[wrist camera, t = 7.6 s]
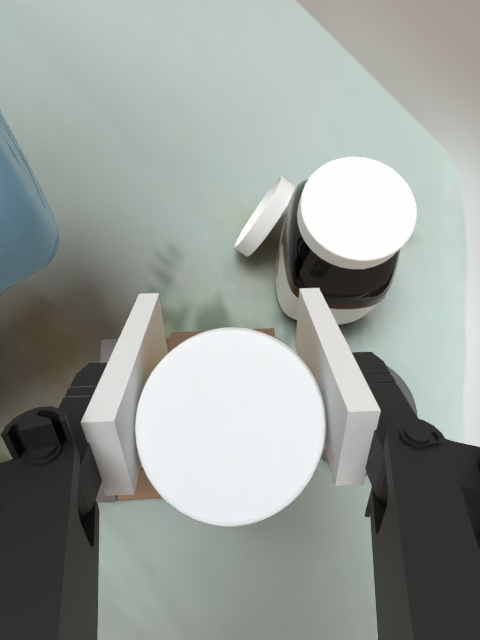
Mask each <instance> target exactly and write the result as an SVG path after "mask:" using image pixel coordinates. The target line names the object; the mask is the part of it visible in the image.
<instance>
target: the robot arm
mask: <svg viewBox="0 0 480 640" xmlns="http://www.w3.org/2000/svg"><path fill="white" fill-rule="evenodd" d="M58 243H59V235H58V229H57V225H56V222H55V219H54V217H53V214H52V212H51V209H50V207H49V205H48V202H47V200H46V198H45V196H44V194H43V192H42V190H41V188H40V186H39V184H38V182H37V179H36V177H35V175H34V173H33V171H32V169H31V167H30V165H29V163H28V162H27V160H26V158H25V156H24V154H23V152H22V150H21V148H20V146H19V144H18V142H17V140H16V139H15V137H14V135H13V133H12V131H11V129H10V127H9V126H8V124H7V122H6V120H5V118H4V116H3V115H2V113H1V111H0V296H1V293H2V291H4V290H5V289H7V288H9V287H11V286H12V285H14V284H16V283H18V282H19V281H21V280H23V279H24V278H26V277H28V276H30V275H31V274H33V273H35V272H37V271H38V270H40V269H42V268H43V267H45V266H46V265H47V264H48V263H49V262H50V261H51V260H52V259H53V257H54V255H55V253H56V251H57V248H58ZM295 347H296V350H297V354H298V356H299V357H300V358H301V359H302V360H303V361H304V363H305V364H306V365H307V367H308V368H309V370H310V371H311V373H312V374H313V376H314V378H315V380H316V382H317V384H318V386H319V389H320V391H321V394H322V398H323V402H324V407H325V414H326V439H325V445H324V449H325V452H326V456H327V459H328V463H329V466H330V470H331V473H332V477H333V480H334V484H335V486H343V485H363V483H364V478H365V474H366V472H367V474H368V477H369V479H370V482H371V485H372V488H371V492H370V496H369V500H368V504H367V507H366V513H365V517H369V516H370V517H371V532H372V548H373V564H374V580H375V596H376V612H377V628H378V640H480V447H477V446H472V445H467V444H463V443H458V442H454V441H451V440H447V439H445V438H444V436H443V434H442V433H441V432H440V431H439V430H438V429H437V428H435V427H434V426H433V425H431V424H429V423H427V422H426V421H424V420H421V419H418V417H417V415H416V414H415V412H414V411H413V409H412V407H411V406H410V404H409V402H408V401H407V399H406V397H405V396H404V394H403V393H402V391H401V389H400V388H399V386H398V384H396V381H395V379H394V378H393V376H392V375H390V371H389V370H388V368H387V366H386V365H385V363H384V361H382V360H381V359H380V358H378V357H377V356H376V355H375V354H373V353H372V352H355V353H352V352H351V350H350V348H349V346H348V344H347V342H346V340H345V338H344V337H343V335H342V333H341V331H340V329H339V327H338V325H337V323H336V321H335V319H334V317H333V315H332V313H331V311H330V309H329V307H328V305H327V303H326V301H325V299H324V297H323V295H322V293H321V291H320V289H319V288H299V302H298V316H297V331H296V345H295ZM167 352H168V350H167V343H166V336H165V330H164V323H163V316H162V309H161V303H160V296H159V293H146V294H139V295H138V298H137V300H136V302H135V304H134V306H133V309H132V311H131V313H130V315H129V317H128V320H127V322H126V324H125V326H124V328H123V330H122V333H121V335H120V337H119V339H118V341H117V344H116V346H115V348H114V350H113V352H112V355H111V357H110V359H109V361H108V362H107V363H89V364H88V365H87V366H85V367H84V368H83V369H82V370H81V371H80V372H78V373H77V375H76V377H75V378H74V380H73V382H72V384H71V388H69V389H68V391H67V393H66V395H65V398H63V400H62V402H61V404H60V406H59V408H55V407H51V406H48V407H38V408H35V409H32V410H29V411H26V412H24V413H23V414H21V415H19V416H17V417H16V418H14V419H13V420H12V421H11V422H10V423H9V424H8V425H7V426H6V427H5V429H4V431H3V432H2V434H1V436H2V438H3V440H4V442H5V444H6V446H7V448H8V450H9V452H10V454H11V456H12V458H13V459H12V460H9V461H6V462H3V463H0V640H97V624H98V562H99V507H98V503H97V500H96V497H97V494H98V491H99V488H100V485H101V484H102V487H103V490H104V493H105V496H111V495H134V493H135V488H136V484H137V480H138V476H139V471H140V467H141V461H140V458H139V454H138V450H137V445H136V434H135V420H136V412H137V407H138V403H139V400H140V396H141V393H142V391H143V388H144V386H145V384H146V382H147V380H148V378H149V376H150V375H151V373H152V371H153V370H154V369H155V367H156V366H157V365H158V363H159V362H160V361H161V360H162V359H163V358H164V357H165V356H166V355H167Z"/></svg>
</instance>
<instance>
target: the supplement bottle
mask: <svg viewBox="0 0 480 640" xmlns="http://www.w3.org/2000/svg"><path fill="white" fill-rule="evenodd" d="M135 434H136V445H137V450H138V454H139V458H140V461H141V464H142V467H143V469H144V471H145V473H146V476H147V477H148V479H149V481H150V482H151V484H152V485H153V487H154V488H155V489H156V491H157V492H158V493H159V494H160V496H161V497H162V498H163V499H164V500H165V501H166V502H167V503H169V504H170V505H171V506H172V507H173V508H175V509H176V510H177V511H179V512H181V513H182V514H184V515H185V516H187V517H189V518H192V519H194V520H196V521H199V522H201V523H205V524H209V525H214V526H222V527H232V526H244V525H250V524H254V523H257V522H260V521H263V520H265V519H267V518H269V517H271V516H274V515H275V514H277V513H279V512H280V511H282V510H283V509H284V508H286V507H287V506H288V505H290V504H291V503H292V502H293V501H294V500H295V499H296V498H297V497H298V496H299V495H300V494H301V492H302V491H303V490H304V489H305V487H306V486H307V485H308V483H309V482H310V480H311V479H312V477H313V475H314V473H315V472H316V469H317V467H318V465H319V462H320V460H321V457H322V453H323V450H324V445H325V439H326V414H325V407H324V402H323V398H322V394H321V391H320V389H319V386H318V384H317V382H316V380H315V378H314V376H313V374H312V373H311V371H310V370H309V368H308V367H307V365H306V364H305V363H304V361H303V360H302V359H301V358H300V357H299V356H298V355H297V354H296V353H295V352H294V351H293V350H292V349H290V348H289V347H288V346H287V345H285V344H284V343H282V342H281V341H279V340H278V339H276V338H274V337H272V336H270V335H267V334H265V333H262V332H259V331H256V330H252V329H248V328H236V327H227V328H218V329H213V330H209V331H205V332H202V333H200V334H197V335H195V336H193V337H191V338H189V339H187V340H185V341H184V342H182V343H181V344H179V345H178V346H177V347H175V348H174V349H173V350H172V351H170V352H169V353H168V354H167V355H166V356H165V357H164V358H163V359H162V360H161V361H160V362H159V363H158V365H157V366H156V367H155V369H154V370H153V371H152V373H151V375H150V376H149V378H148V380H147V382H146V384H145V386H144V388H143V391H142V393H141V396H140V400H139V403H138V407H137V412H136V420H135Z"/></svg>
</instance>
